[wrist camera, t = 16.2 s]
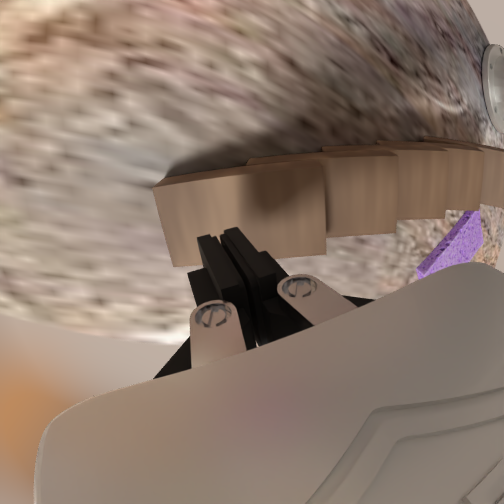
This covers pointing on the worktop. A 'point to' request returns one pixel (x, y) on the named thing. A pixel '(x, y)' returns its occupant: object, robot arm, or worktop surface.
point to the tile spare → (485, 171)
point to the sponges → (455, 245)
